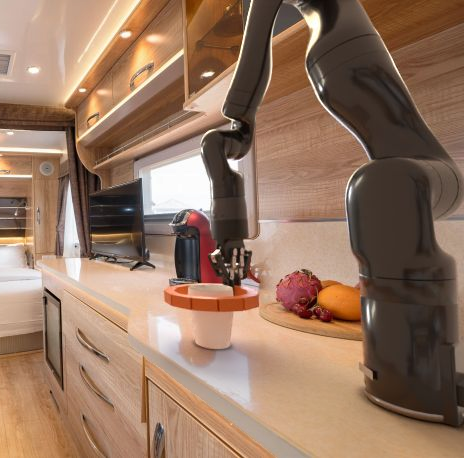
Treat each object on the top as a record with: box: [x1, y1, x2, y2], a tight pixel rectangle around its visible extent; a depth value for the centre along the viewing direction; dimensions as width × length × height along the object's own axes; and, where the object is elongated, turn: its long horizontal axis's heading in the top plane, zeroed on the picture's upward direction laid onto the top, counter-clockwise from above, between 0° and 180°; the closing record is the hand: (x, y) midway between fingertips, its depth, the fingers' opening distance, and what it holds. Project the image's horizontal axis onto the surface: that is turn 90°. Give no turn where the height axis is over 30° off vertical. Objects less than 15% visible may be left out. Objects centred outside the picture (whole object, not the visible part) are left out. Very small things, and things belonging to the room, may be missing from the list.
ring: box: [163, 282, 260, 313], centre depth 70 cm, size 18×18×2 cm
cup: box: [188, 283, 234, 350], centre depth 70 cm, size 9×9×12 cm
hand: (232, 295), depth 74 cm, fingers closed on ring, 2 cm apart
